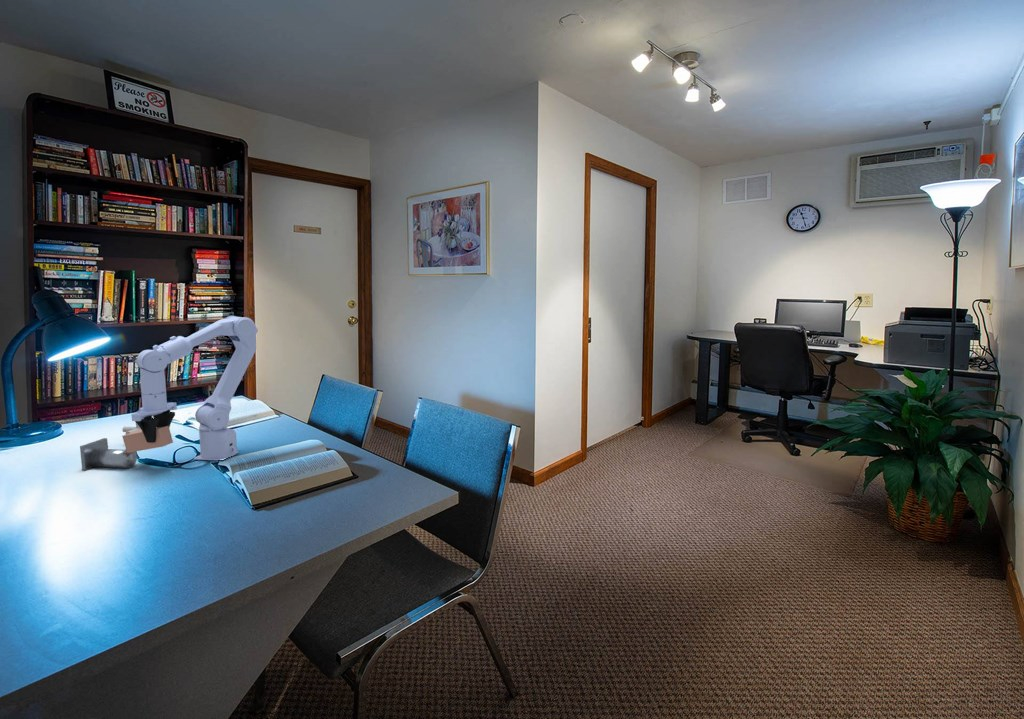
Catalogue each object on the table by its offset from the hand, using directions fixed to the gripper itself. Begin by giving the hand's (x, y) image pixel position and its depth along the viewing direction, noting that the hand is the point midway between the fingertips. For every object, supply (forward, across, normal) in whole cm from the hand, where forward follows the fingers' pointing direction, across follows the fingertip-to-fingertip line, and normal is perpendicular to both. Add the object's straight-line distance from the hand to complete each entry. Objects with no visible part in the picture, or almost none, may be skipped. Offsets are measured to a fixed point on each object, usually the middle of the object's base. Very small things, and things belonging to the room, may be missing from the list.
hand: (157, 439), depth 148 cm
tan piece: (+2, -2, -2) cm, 4 cm away
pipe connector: (+9, -20, -22) cm, 30 cm away
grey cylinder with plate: (+8, 0, -13) cm, 16 cm away
